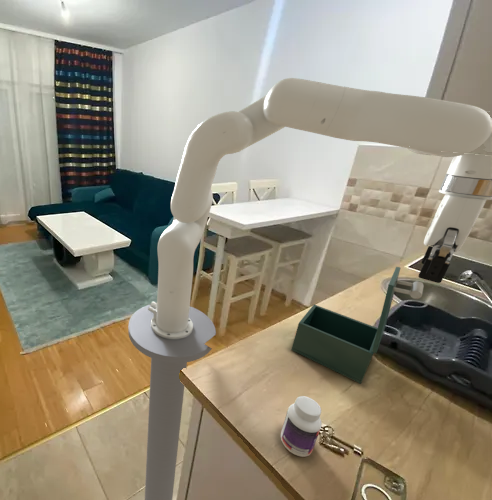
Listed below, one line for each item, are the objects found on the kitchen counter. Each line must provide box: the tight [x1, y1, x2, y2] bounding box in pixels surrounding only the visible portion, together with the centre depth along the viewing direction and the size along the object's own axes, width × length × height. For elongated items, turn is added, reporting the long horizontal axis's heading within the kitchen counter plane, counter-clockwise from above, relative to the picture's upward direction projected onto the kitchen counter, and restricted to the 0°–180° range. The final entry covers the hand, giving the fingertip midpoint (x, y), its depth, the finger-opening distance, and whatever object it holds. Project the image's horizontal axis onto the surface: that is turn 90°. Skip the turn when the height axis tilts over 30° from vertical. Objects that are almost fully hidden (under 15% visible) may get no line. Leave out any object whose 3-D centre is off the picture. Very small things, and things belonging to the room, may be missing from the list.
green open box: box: [290, 304, 378, 385], centre depth 75 cm, size 16×13×9 cm
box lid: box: [372, 266, 424, 354], centre depth 64 cm, size 16×13×5 cm
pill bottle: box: [280, 395, 323, 458], centre depth 52 cm, size 5×5×10 cm
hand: (429, 272), depth 58 cm, fingers open, 9 cm apart
